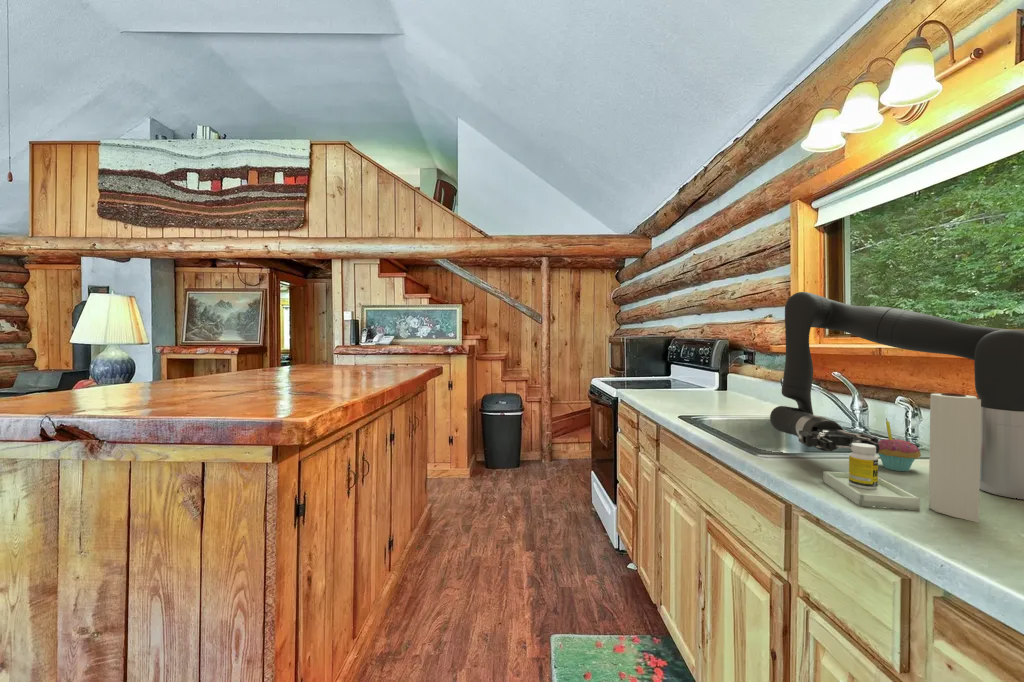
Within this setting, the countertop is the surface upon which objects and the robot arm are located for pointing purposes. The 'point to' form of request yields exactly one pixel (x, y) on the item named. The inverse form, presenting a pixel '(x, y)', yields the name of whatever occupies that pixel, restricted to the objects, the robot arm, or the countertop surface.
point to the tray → (872, 493)
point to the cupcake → (897, 452)
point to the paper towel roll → (955, 455)
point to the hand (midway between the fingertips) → (853, 447)
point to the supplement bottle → (863, 466)
